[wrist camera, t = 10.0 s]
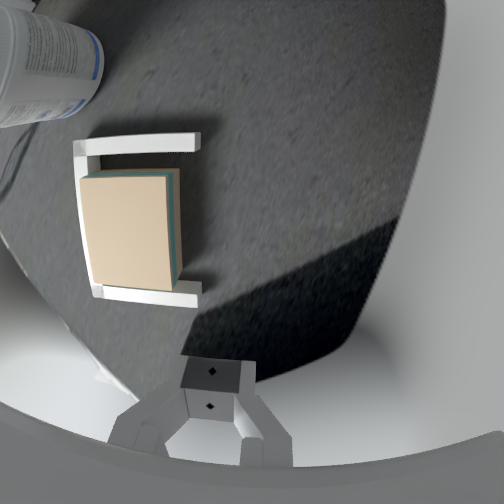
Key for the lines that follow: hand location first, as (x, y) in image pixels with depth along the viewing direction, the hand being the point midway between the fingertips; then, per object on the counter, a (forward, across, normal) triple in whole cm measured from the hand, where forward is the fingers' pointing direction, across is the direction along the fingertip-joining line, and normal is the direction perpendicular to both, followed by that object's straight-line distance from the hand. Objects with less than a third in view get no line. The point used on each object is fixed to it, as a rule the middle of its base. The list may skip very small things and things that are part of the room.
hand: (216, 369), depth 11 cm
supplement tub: (+19, +18, -14) cm, 30 cm away
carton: (+19, +10, +1) cm, 21 cm away
